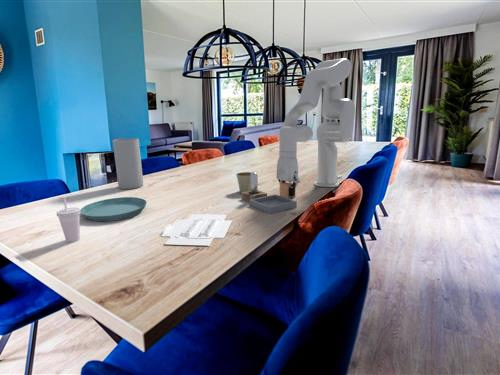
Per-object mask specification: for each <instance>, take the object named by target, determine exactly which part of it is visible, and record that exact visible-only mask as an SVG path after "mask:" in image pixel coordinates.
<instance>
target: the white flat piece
mask: <svg viewBox="0 0 500 375" xmlns="http://www.w3.org/2000/svg"><path fill="white" fill-rule="evenodd" d="M226 217H227V214H215V213H213V214H212V213H207V214H205V213H204V214H203V213H191V214H190V215H189V216H188V218H185V219H182V218H181V219H179V218H178V219H176V220H175V221H174V222H173V223H167V224H165V226H164V227H163V230H162V231H163V232H162V234H161V236H160V238H168V239H167V240H166V242H165V243H164V245H172V246H173V245H176V246H178V245H179V246H206V247H207V246H208V247H210V245H211V244H212V242H213V240H214V239H215V240H216V239H217V240H218V239H219V240H220V239H221V240H225V237H226V234H227V232H228V231H229V229H230V226H231V225H232V222H234V220H233V219H232V220H231V219H229V220H227V219H226Z"/></svg>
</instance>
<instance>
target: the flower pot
mask: <svg viewBox="0 0 500 375" xmlns="http://www.w3.org/2000/svg"><path fill="white" fill-rule="evenodd" d="M251 172H252V171H251ZM251 172H250V171H245V172H244V171H243V172H242V171H241V172H237V173H236V174H235V176H236V179H237V183H238V188H239V192H240V193H242V192H247V191H251Z"/></svg>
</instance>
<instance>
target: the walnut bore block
mask: <svg viewBox="0 0 500 375" xmlns="http://www.w3.org/2000/svg"><path fill="white" fill-rule="evenodd" d="M265 196H268V193H267V192H265V191H262V190H258V194H254V195H252V194H251V191H247V192H241V200H243V201H246V202H249V203H250V200H251V199H256V198H261V197H265Z"/></svg>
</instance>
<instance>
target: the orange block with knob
mask: <svg viewBox="0 0 500 375" xmlns="http://www.w3.org/2000/svg"><path fill="white" fill-rule="evenodd" d="M292 184H293V182H292ZM296 187H297V186H296ZM296 187H295V193H297V192H296ZM289 188H290V185H289V182H287V181H286V182H283V183H280V184H279V196H282V197H285V198H288V199H291V198H294V197H296V195H295V196H291V197H289Z"/></svg>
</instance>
